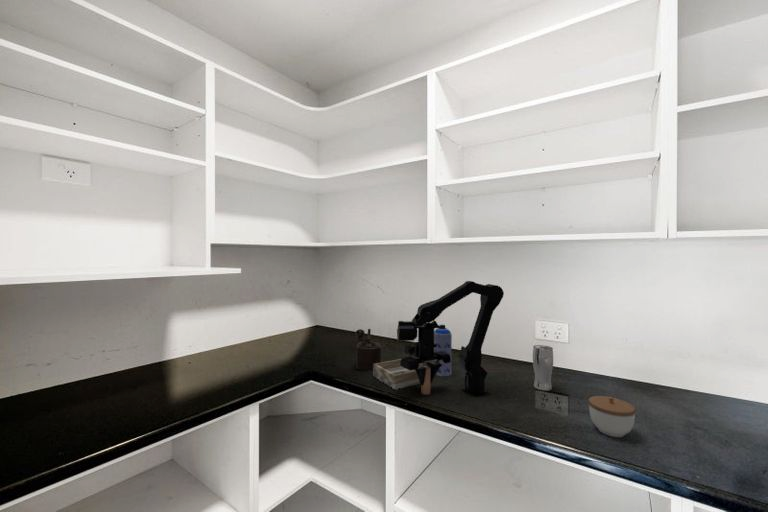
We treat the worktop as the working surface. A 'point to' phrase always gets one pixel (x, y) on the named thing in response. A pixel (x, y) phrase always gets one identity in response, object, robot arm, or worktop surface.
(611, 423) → the lidded jar
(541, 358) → the beer glass
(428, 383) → the peg
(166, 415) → the worktop surface
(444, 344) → the aerosol can
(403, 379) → the tray
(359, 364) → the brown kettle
